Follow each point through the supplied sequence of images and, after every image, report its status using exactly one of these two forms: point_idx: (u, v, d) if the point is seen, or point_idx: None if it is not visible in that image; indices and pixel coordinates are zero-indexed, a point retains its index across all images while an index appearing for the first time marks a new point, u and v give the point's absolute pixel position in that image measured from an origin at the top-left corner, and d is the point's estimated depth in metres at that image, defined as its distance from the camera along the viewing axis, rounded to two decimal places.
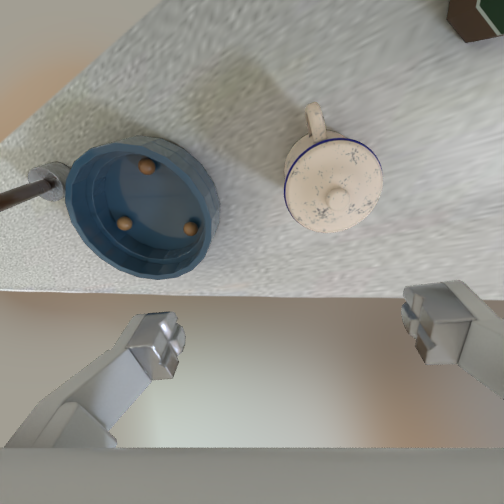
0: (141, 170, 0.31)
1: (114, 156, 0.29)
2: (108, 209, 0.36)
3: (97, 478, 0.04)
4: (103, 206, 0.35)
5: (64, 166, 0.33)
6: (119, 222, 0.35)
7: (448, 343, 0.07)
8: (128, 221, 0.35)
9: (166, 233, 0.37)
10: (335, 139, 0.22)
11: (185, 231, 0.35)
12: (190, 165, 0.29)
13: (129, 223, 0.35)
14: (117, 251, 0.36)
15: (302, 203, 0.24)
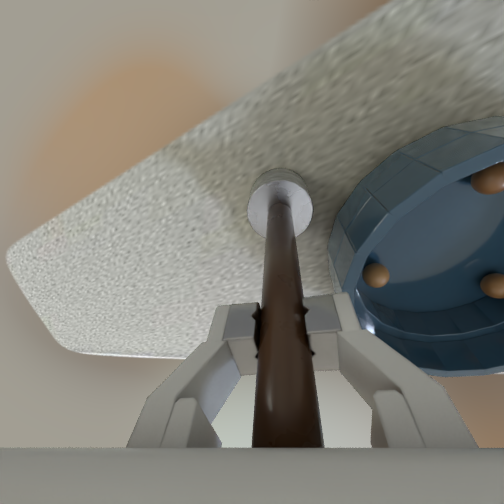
0: (493, 186, 0.15)
1: None
2: None
3: (97, 478, 0.04)
4: None
5: (299, 176, 0.18)
6: (379, 276, 0.19)
7: (325, 351, 0.07)
8: (388, 273, 0.20)
9: (429, 288, 0.22)
10: None
11: (498, 292, 0.19)
12: None
13: (389, 276, 0.20)
14: (365, 324, 0.20)
15: None
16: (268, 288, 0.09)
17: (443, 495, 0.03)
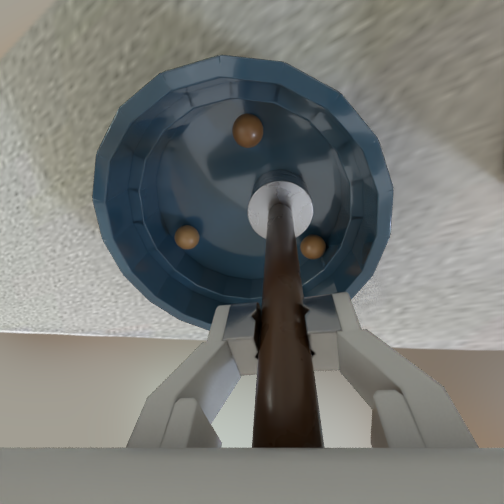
0: (240, 137, 0.16)
1: (195, 105, 0.14)
2: (159, 213, 0.21)
3: (97, 478, 0.04)
4: (153, 207, 0.20)
5: (299, 177, 0.18)
6: (181, 236, 0.20)
7: (325, 351, 0.07)
8: (195, 234, 0.20)
9: (253, 253, 0.22)
10: None
11: (317, 252, 0.19)
12: None
13: (196, 237, 0.20)
14: (175, 285, 0.20)
15: None
16: (268, 289, 0.09)
17: (443, 495, 0.03)
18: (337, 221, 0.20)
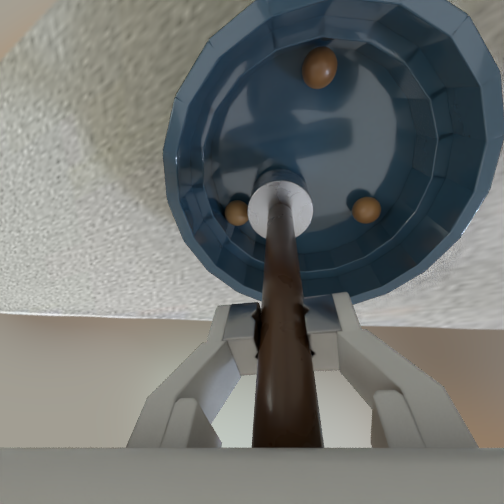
0: (309, 61, 0.14)
1: (279, 45, 0.13)
2: (213, 180, 0.20)
3: (97, 478, 0.04)
4: (209, 172, 0.18)
5: (300, 177, 0.18)
6: (230, 217, 0.19)
7: (325, 351, 0.07)
8: (244, 215, 0.19)
9: None
10: None
11: (362, 208, 0.18)
12: None
13: (245, 218, 0.19)
14: (230, 256, 0.19)
15: None
16: (268, 289, 0.09)
17: (443, 495, 0.03)
18: (405, 187, 0.18)
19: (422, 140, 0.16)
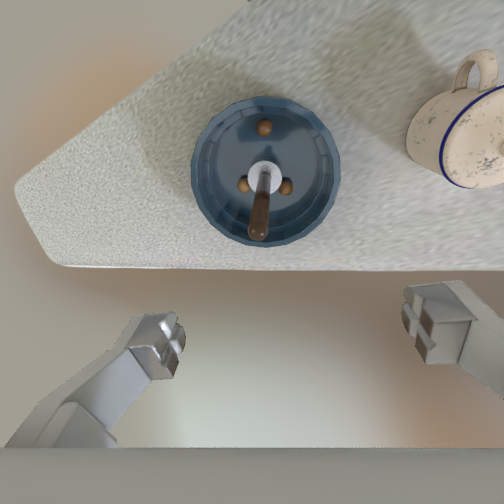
0: (258, 129, 0.30)
1: (243, 115, 0.29)
2: (213, 177, 0.35)
3: (97, 478, 0.04)
4: (211, 172, 0.34)
5: (276, 160, 0.33)
6: None
7: (448, 343, 0.07)
8: None
9: None
10: None
11: None
12: None
13: None
14: (223, 219, 0.35)
15: (466, 153, 0.23)
16: (255, 197, 0.25)
17: (443, 495, 0.03)
18: (317, 180, 0.34)
19: (319, 156, 0.32)
